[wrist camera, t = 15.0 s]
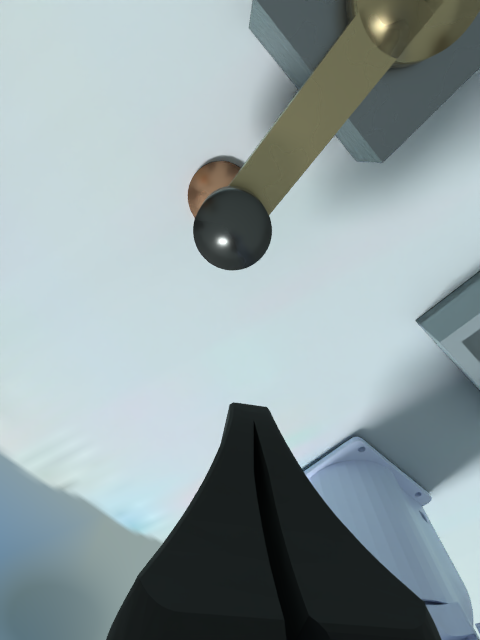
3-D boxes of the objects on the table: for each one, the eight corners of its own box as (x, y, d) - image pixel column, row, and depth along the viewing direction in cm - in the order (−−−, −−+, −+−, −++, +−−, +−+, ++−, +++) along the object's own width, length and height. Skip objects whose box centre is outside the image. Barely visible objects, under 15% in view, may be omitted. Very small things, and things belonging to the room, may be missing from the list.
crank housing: (494, 21, 13) (560, -13, 11) (250, 268, 18) (253, 288, 15) (394, -166, 11) (445, -268, 9) (142, 169, 16) (123, 172, 13)
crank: (421, -144, 9) (490, -253, 7) (499, -21, 11) (583, -76, 8) (173, 211, 13) (159, 224, 11) (249, 271, 15) (253, 295, 12)
